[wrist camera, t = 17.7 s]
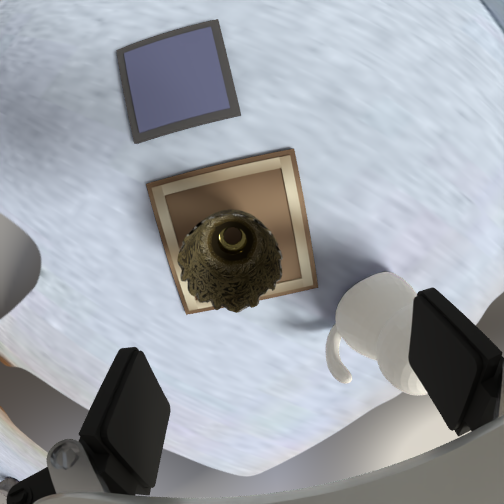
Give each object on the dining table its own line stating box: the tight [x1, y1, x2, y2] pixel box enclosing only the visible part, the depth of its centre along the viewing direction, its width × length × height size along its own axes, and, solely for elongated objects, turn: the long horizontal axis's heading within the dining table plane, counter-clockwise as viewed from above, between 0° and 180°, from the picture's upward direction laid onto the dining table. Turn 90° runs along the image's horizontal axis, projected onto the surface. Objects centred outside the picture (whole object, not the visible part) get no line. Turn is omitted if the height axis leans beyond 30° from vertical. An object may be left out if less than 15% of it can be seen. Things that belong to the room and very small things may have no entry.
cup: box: [177, 209, 283, 313], centre depth 26 cm, size 8×7×8 cm
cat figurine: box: [326, 272, 428, 395], centre depth 26 cm, size 9×12×15 cm
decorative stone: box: [0, 477, 19, 497], centre depth 51 cm, size 15×7×10 cm
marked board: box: [146, 149, 318, 315], centre depth 30 cm, size 14×14×1 cm
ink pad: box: [116, 19, 241, 144], centre depth 24 cm, size 10×10×1 cm
